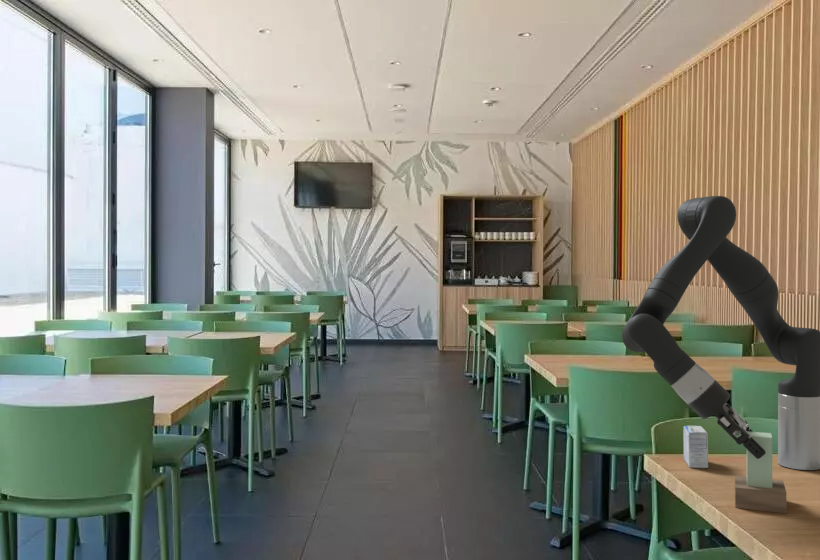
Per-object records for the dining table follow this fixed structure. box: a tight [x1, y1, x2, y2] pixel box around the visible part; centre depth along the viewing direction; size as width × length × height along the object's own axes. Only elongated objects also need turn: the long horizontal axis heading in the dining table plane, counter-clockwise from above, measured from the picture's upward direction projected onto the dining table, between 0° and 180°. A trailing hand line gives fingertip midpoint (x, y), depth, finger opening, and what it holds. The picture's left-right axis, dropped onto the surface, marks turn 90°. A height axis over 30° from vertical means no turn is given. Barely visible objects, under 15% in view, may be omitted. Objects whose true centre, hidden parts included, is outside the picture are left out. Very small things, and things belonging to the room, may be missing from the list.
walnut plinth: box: [734, 475, 787, 514], centre depth 146 cm, size 9×9×4 cm
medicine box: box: [682, 425, 709, 469], centre depth 176 cm, size 8×4×9 cm, turn 168°
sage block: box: [746, 431, 773, 488], centre depth 145 cm, size 4×4×10 cm
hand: (761, 450), depth 145 cm, fingers open, 8 cm apart
